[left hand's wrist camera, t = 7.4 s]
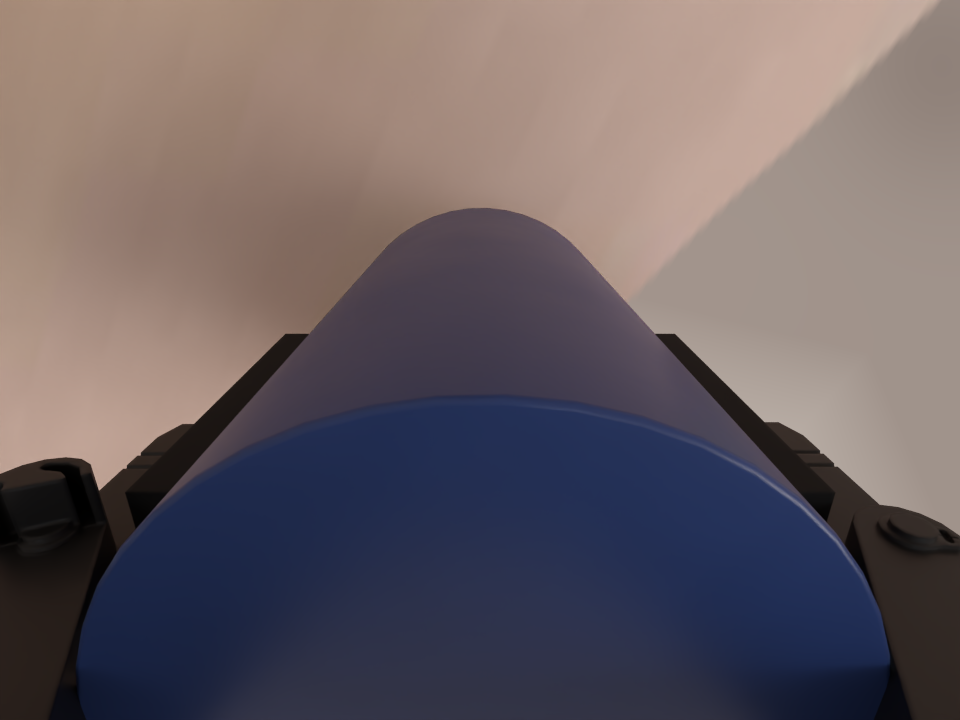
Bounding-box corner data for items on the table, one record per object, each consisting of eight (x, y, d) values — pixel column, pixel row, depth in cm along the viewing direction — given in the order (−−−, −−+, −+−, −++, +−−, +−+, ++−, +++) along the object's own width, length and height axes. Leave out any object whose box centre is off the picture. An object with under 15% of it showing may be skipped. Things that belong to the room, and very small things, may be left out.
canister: (374, 458, 19) (204, 971, 7) (330, 220, 16) (-88, 440, 4) (609, 441, 18) (826, 943, 7) (609, 195, 15) (994, 354, 4)
